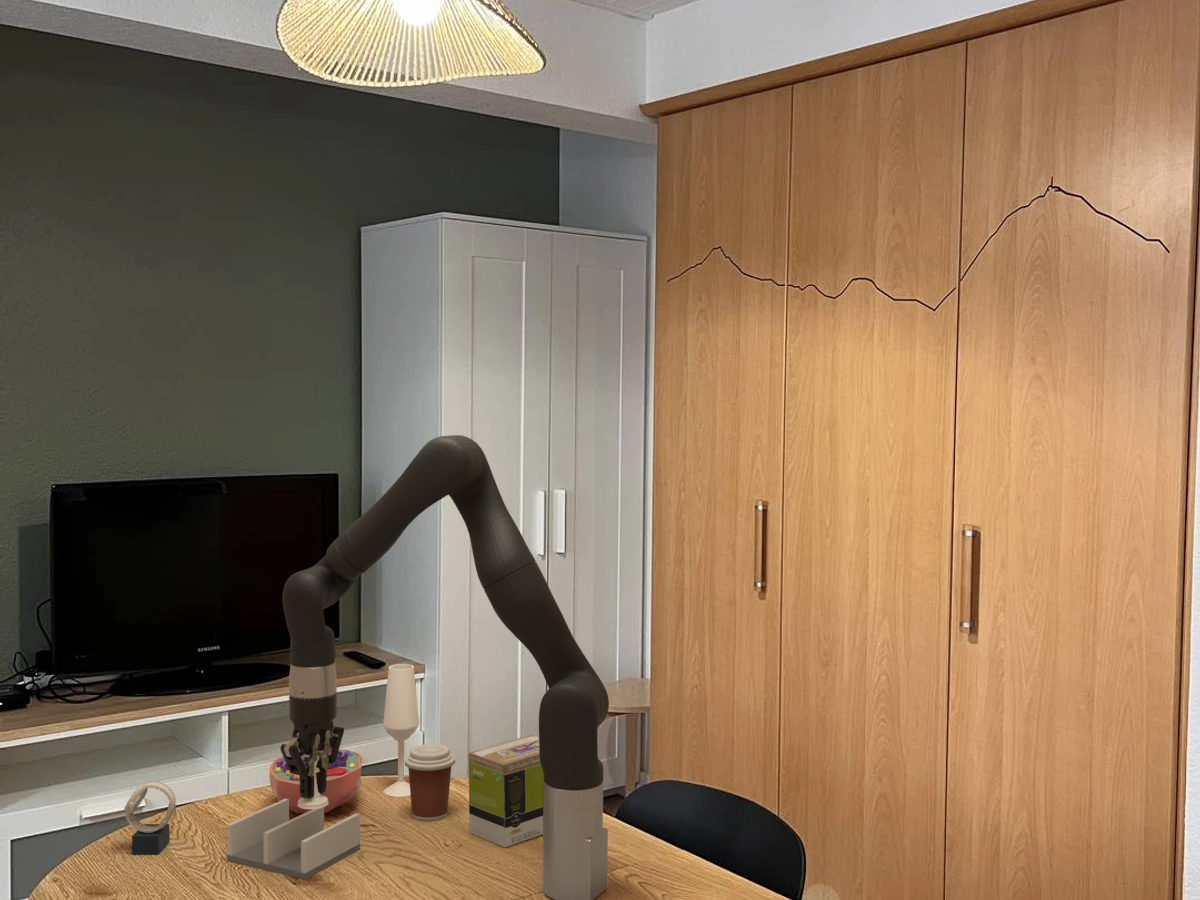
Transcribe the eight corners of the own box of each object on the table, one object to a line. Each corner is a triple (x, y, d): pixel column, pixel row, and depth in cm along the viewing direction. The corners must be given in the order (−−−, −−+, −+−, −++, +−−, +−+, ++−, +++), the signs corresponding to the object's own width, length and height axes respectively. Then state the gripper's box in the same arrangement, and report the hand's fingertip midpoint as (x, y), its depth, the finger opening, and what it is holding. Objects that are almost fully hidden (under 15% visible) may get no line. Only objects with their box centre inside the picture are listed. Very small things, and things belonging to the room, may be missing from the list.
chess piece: (320, 810, 196) (320, 749, 196) (292, 808, 197) (291, 747, 197) (333, 800, 201) (333, 740, 200) (305, 798, 202) (305, 738, 201)
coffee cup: (398, 809, 223) (399, 744, 222) (447, 803, 227) (447, 739, 226) (411, 826, 215) (411, 759, 214) (461, 819, 218) (461, 753, 217)
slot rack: (360, 849, 204) (360, 814, 204) (305, 879, 191) (304, 842, 191) (285, 832, 211) (285, 798, 211) (227, 860, 199) (227, 824, 198)
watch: (132, 842, 206) (131, 778, 205) (180, 842, 206) (179, 778, 206) (120, 855, 200) (119, 789, 200) (169, 855, 201) (168, 789, 200)
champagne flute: (402, 799, 228) (402, 672, 227) (375, 792, 232) (375, 667, 231) (426, 789, 234) (426, 665, 233) (399, 782, 238) (399, 661, 236)
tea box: (531, 812, 222) (532, 732, 222) (569, 827, 215) (570, 744, 214) (466, 833, 212) (467, 749, 211) (504, 849, 205) (505, 763, 204)
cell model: (248, 824, 215) (248, 761, 214) (296, 787, 234) (296, 729, 234) (339, 831, 212) (339, 767, 211) (380, 793, 231) (380, 735, 231)
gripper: (302, 703, 190) (303, 812, 191) (358, 683, 203) (358, 786, 204) (265, 697, 193) (266, 804, 194) (322, 678, 206) (322, 779, 207)
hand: (313, 794), depth 199 cm, fingers closed on chess piece, 2 cm apart
